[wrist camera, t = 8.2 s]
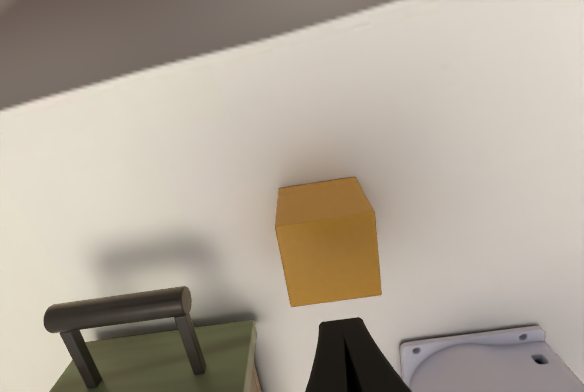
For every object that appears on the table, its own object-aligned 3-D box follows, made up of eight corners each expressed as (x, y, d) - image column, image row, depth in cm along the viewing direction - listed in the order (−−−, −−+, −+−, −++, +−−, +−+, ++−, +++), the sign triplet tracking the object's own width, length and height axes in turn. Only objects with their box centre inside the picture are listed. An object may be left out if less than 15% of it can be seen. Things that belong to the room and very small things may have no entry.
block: (355, 176, 20) (375, 211, 15) (362, 244, 22) (381, 295, 17) (278, 188, 20) (274, 226, 16) (290, 254, 22) (290, 307, 17)
